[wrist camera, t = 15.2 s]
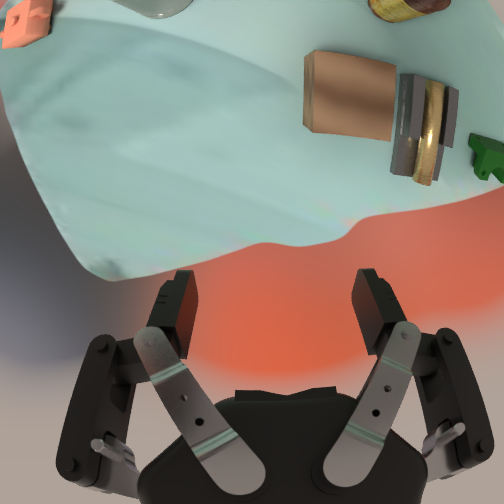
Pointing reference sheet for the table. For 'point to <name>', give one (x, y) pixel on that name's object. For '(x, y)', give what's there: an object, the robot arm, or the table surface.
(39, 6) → the pink cube teapot
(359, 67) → the wooden mallet head
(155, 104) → the table surface
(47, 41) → the table surface
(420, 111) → the rest
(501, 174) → the clamp
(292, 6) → the table surface
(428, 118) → the cannon barrel
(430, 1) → the sauce bottle
